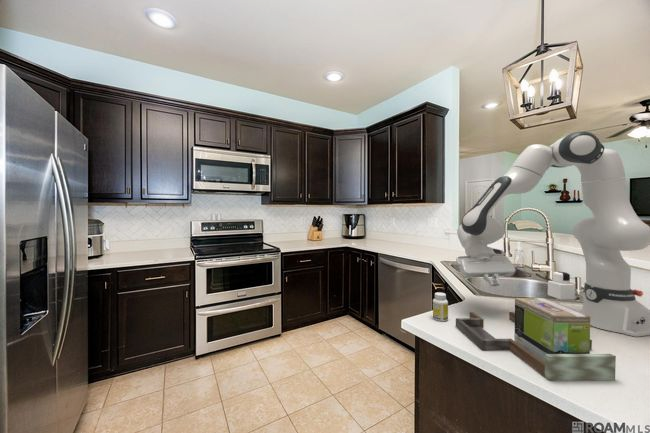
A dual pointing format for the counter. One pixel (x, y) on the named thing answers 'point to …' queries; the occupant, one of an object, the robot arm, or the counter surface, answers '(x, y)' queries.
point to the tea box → (550, 328)
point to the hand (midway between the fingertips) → (495, 285)
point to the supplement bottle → (440, 307)
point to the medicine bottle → (561, 286)
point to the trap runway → (555, 364)
